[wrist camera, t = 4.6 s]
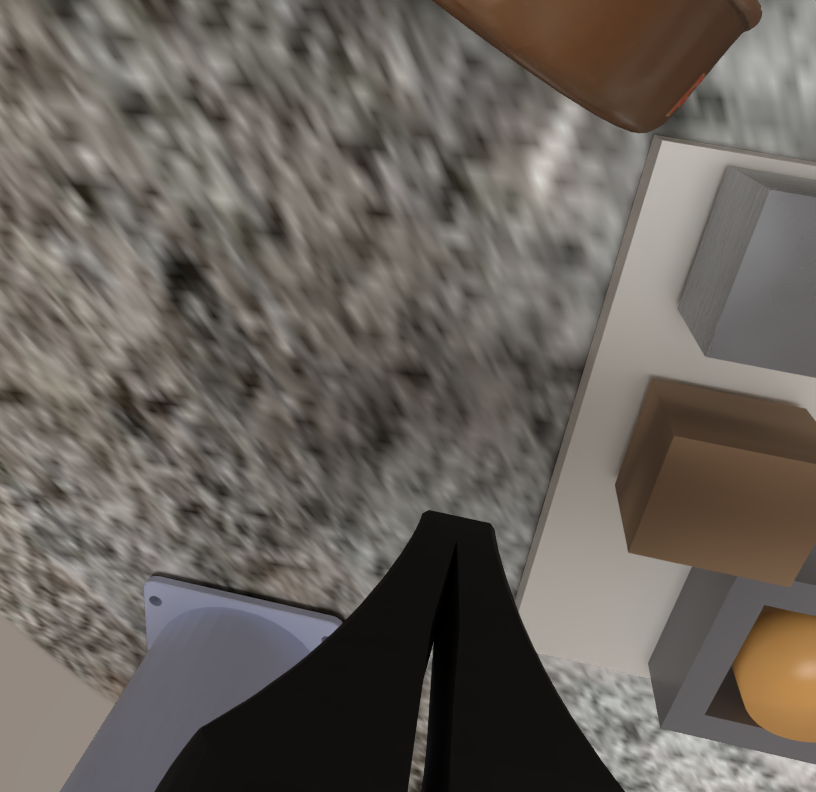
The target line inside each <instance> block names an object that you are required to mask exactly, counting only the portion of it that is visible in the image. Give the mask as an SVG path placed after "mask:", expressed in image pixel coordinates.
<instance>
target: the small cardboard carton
mask: <svg viewBox="0 0 816 792" xmlns="http://www.w3.org/2000/svg"><path fill="white" fill-rule="evenodd" d="M615 488H616V494H617V499H618V504H619V509H620V514H621V519H622V524H623V529H624V534H625V539H626V544H627V549H628V553H632V554H636V555H641V556H646V557H650V558H655V559H660V560H664V561H669V562H674V563H678V564H683V565H688V566H692V567H697V568H701V569H706V570H711V571H715V572H720V573H725V574H729V575H734V576H739V577H743V578H748V579H753V580H757V581H762V582H767V583H771V584H776V585H781V586H785V587H791V586H792V584H793V582H794V580H795V578H796V577H797V575H798V573H799V571H800V569H801V568H802V566H803V564H804V562H805V561H806V559H807V557H808V555H809V553H810V552H811V550H812V548H813V546H814V545H815V543H816V421H815V420H814V418H813V417H812V416H811V414H810V413H809V412H808V411H807V409H805V408H800V407H795V406H790V405H785V404H780V403H774V402H769V401H764V400H759V399H754V398H749V397H744V396H738V395H733V394H728V393H723V392H718V391H713V390H708V389H703V388H697V387H692V386H687V385H682V384H677V383H672V382H667V381H662V380H656V379H652V381H651V384H650V387H649V390H648V393H647V396H646V398H645V401H644V404H643V407H642V410H641V412H640V415H639V418H638V421H637V424H636V426H635V429H634V432H633V435H632V438H631V441H630V443H629V446H628V449H627V452H626V455H625V457H624V460H623V463H622V466H621V469H620V471H619V474H618V477H617V480H616V483H615Z"/></svg>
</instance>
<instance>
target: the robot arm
mask: <svg viewBox="0 0 816 792" xmlns="http://www.w3.org/2000/svg"><path fill="white" fill-rule="evenodd" d="M144 604H145V619H146V634H147V650H148V653H147V654H146V656H145V658H144V659H143V661H142V662H141V664H140V665H139V667H138V669H137V670H136V672H135V673H134V675H133V677H132V678H131V680H130V681H129V683H128V684H127V686H126V688H125V689H124V691H123V692H122V694H121V696H120V697H119V699H118V700H117V702H116V703H115V705H114V707H113V708H112V710H111V712H110V713H109V715H108V716H107V718H106V719H105V721H104V723H103V724H102V726H101V727H100V729H99V730H98V732H97V734H96V735H95V737H94V739H93V740H92V742H91V743H90V745H89V746H88V748H87V749H86V751H85V753H84V754H83V756H82V758H81V759H80V761H79V762H78V764H77V765H76V767H75V769H74V770H73V772H72V773H71V775H70V776H69V778H68V780H67V781H66V783H65V784H64V786H63V787H62V789H61V791H60V792H408V784H409V777H410V769H411V762H412V754H413V747H414V740H415V733H416V726H417V719H418V712H419V705H420V698H421V691H422V685H423V679H424V675H425V671H426V668H427V664H428V661H429V657H430V653H431V650H432V646H433V642H434V646H433V660H432V675H431V689H430V704H429V719H428V734H427V749H426V758H425V768H424V776H423V782H422V789H421V792H625V791H624V790H623V789H622V787H621V786H620V785H619V783H618V782H617V781H616V779H615V778H614V777H613V775H612V774H611V773H610V771H609V770H608V769H607V767H606V766H605V765H604V763H603V762H602V761H601V759H600V758H599V756H598V755H597V753H596V752H595V750H594V749H593V747H592V746H591V744H590V743H589V741H588V740H587V738H586V737H585V736H584V734H583V733H582V731H581V730H580V728H579V727H578V725H577V724H576V722H575V721H574V719H573V718H572V716H571V715H570V713H569V711H568V710H567V708H566V706H565V705H564V703H563V701H562V699H561V698H560V696H559V694H558V693H557V691H556V689H555V687H554V686H553V684H552V682H551V680H550V678H549V676H548V675H547V673H546V671H545V669H544V667H543V665H542V663H541V661H540V659H539V657H538V655H537V653H536V651H535V649H534V647H533V644H532V642H531V640H530V638H529V635H528V633H527V631H526V629H525V626H524V624H523V622H522V619H521V617H520V614H519V612H518V609H517V606H516V604H515V601H514V598H513V595H512V593H511V590H510V587H509V584H508V581H507V578H506V575H505V572H504V569H503V565H502V562H501V558H500V554H499V550H498V546H497V541H496V536H495V529H494V528H493V526H492V525H491V524H490V523H486V522H482V521H477V520H472V519H468V518H463V517H459V516H454V515H449V514H445V513H440V512H435V511H431V510H428V511H426V512H425V513H423V514H422V516H421V519H420V522H419V524H418V526H417V528H416V530H415V532H414V534H413V535H412V537H411V539H410V540H409V542H408V544H407V545H406V547H405V548H404V550H403V551H402V553H401V554H400V556H399V557H398V558H397V560H396V561H395V563H394V564H393V565H392V567H391V568H390V570H389V571H388V572H387V574H386V575H385V576H384V577H383V579H382V580H381V581H380V582H379V584H378V585H377V586H376V587H375V588H374V589H373V591H372V592H371V593H370V594H369V595H368V596H367V598H366V599H365V600H364V601H363V602H362V603H361V605H360V606H359V607H358V608H357V609H356V610H355V611H354V612H353V613H352V614H351V615H350V616H349V617H348V618H347V619H346V620H345V621H344V622H343V623H342V621H341V620H340V619H338V618H337V617H334V616H331V615H327V614H322V613H318V612H314V611H309V610H305V609H300V608H296V607H292V606H287V605H283V604H279V603H274V602H270V601H265V600H261V599H257V598H252V597H248V596H244V595H239V594H235V593H231V592H226V591H222V590H217V589H213V588H209V587H204V586H200V585H196V584H191V583H187V582H182V581H178V580H174V579H169V578H165V577H161V576H152V577H150V578H149V579H148V580H147V582H146V583H145V584H144ZM327 636H329V637H327Z"/></svg>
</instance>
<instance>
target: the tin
mask: <svg viewBox="0 0 816 792" xmlns="http://www.w3.org/2000/svg"><path fill="white" fill-rule="evenodd" d="M432 1H434V2H435V3H436V4H438V5H439V6H440V7H442V8H443V9H444V10H446V11H447V12H448V13H449V14H451V15H452V16H453V17H455V18H456V19H457V20H459V21H460V22H461V23H463V24H464V25H465V26H467V27H468V28H469V29H471V30H472V31H473V32H475V33H476V34H477V35H479V36H480V37H482V38H483V39H484V40H486V41H487V42H488V43H490V44H491V45H493V46H494V47H495V48H497V49H498V50H499V51H501V52H502V53H504V54H505V55H506V56H508V57H509V58H511V59H512V60H513V61H515V62H516V63H518V64H519V65H521V66H522V67H523V68H525V69H526V70H528V71H529V72H531V73H532V74H533V75H535V76H536V77H538V78H539V79H541V80H542V81H544V82H545V83H547V84H548V85H549V86H551V87H552V88H554V89H555V90H557V91H558V92H560V93H561V94H563V95H564V96H566V97H567V98H569V99H571V100H572V101H574V102H575V103H577V104H579V105H580V106H582V107H583V108H585V109H587V110H588V111H590V112H592V113H593V114H595V115H597V116H598V117H600V118H602V119H604V120H606V121H608V122H610V123H611V124H613V125H615V126H618V127H620V128H623V129H625V130H628V131H631V132H635V133H647V132H650V131H652V130H654V129H656V128H658V127H660V126H661V125H663V124H664V123H665V122H666V121H667V120H668V119H669V118H670V117H671V116H672V115H673V114H674V113H675V112H676V111H677V110H678V109H679V108H680V106H681V105H682V104H683V103H684V102H685V100H686V99H687V98H688V97H689V96H690V94H691V93H692V92H693V91H694V90H695V88H696V87H697V86H698V85H699V84H700V82H701V81H702V80H703V79H704V78H705V76H706V75H707V74H708V73H709V72H710V70H711V69H712V68H713V67H714V66H715V64H716V63H717V62H718V61H719V59H720V58H721V57H722V56H723V55H724V53H725V52H726V51H727V50H728V49H729V47H730V46H731V45H732V44H733V43H734V42H735V41H736V40H737V38H738V37H739V36H740V35H741V34H742V33H743V32H745V31H748V30H750V29H752V28H753V27H755V26H756V25H757V24H758V23H759V21H760V19H761V17H762V11H761V5H760V4H759V2H758V0H432Z"/></svg>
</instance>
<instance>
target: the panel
mask: <svg viewBox="0 0 816 792" xmlns="http://www.w3.org/2000/svg"><path fill="white" fill-rule="evenodd" d="M728 165H730V166H736V167H742V168H747V169H753V170H759V171H765V172H771V173H777V174H783V175H789V176H794V177H800V178H806V179H812V180H816V162H814V161H808V160H802V159H796V158H790V157H784V156H778V155H772V154H766V153H760V152H754V151H748V150H743V149H737V148H731V147H725V146H719V145H713V144H707V143H701V142H695V141H689V140H683V139H677V138H671V137H665V136H659V135H654V136H653V139H652V143H651V146H650V149H649V153H648V156H647V159H646V163H645V166H644V170H643V173H642V176H641V180H640V183H639V186H638V190H637V193H636V196H635V200H634V203H633V206H632V210H631V213H630V216H629V220H628V223H627V227H626V230H625V233H624V237H623V240H622V243H621V247H620V250H619V253H618V257H617V260H616V263H615V267H614V270H613V273H612V277H611V280H610V284H609V287H608V290H607V294H606V297H605V300H604V304H603V307H602V310H601V314H600V317H599V320H598V324H597V327H596V330H595V334H594V337H593V341H592V344H591V347H590V351H589V354H588V357H587V361H586V364H585V367H584V371H583V374H582V377H581V381H580V384H579V387H578V391H577V394H576V398H575V401H574V404H573V408H572V411H571V414H570V418H569V421H568V424H567V428H566V431H565V434H564V438H563V441H562V444H561V448H560V451H559V455H558V458H557V461H556V465H555V468H554V471H553V475H552V478H551V481H550V485H549V488H548V491H547V495H546V498H545V501H544V505H543V508H542V512H541V515H540V518H539V522H538V525H537V528H536V532H535V535H534V538H533V542H532V545H531V548H530V552H529V555H528V558H527V562H526V565H525V569H524V572H523V575H522V579H521V582H520V585H519V589H518V592H517V595H516V599H515V604H516V606H517V609H518V612H519V614H520V617H521V619H522V622H523V624H524V626H525V629H526V631H527V633H528V635H529V638H530V640H531V642H532V644H533V647H534V649H535V651H536V653H539V654H543V655H547V656H552V657H556V658H561V659H565V660H569V661H574V662H578V663H583V664H587V665H591V666H596V667H600V668H605V669H609V670H613V671H618V672H622V673H626V674H631V675H635V676H640V677H644V678H648V679H651V682H652V687H653V692H654V697H655V702H656V708H657V713H658V718H659V723H660V728H662V729H666V730H671V731H675V732H679V733H683V734H688V735H692V736H696V737H701V738H705V739H709V740H713V741H718V742H722V743H726V744H731V745H735V746H739V747H744V748H748V749H752V750H756V751H761V752H765V753H769V754H774V755H778V756H782V757H786V758H791V759H795V760H799V761H804V762H808V763H812V764H816V743H812V742H801V741H795V740H790V739H787V738H783V737H780V736H778V735H775V734H773V733H771V732H769V731H767V730H765V729H764V728H762V727H761V726H759V725H758V724H757V723H756V722H755V721H754V720H753V719H752V718H751V717H750V715H749V714H748V712H747V710H746V708H745V705H744V703H743V699H742V696H741V693H740V690H739V687H738V684H737V681H736V678H735V675H734V672H733V669H732V666H731V665H732V663H733V662H734V660H735V658H736V656H737V654H738V652H739V651H740V649H741V647H742V645H743V643H744V641H745V640H746V638H747V636H748V634H749V632H750V630H751V629H752V627H753V625H754V623H755V621H756V619H757V618H758V616H759V614H760V612H761V610H762V608H763V607H764V605H766V606H771V607H775V608H780V609H785V610H789V611H794V612H798V613H803V614H808V615H812V616H816V543H815V545H814V546H813V548H812V550H811V552H810V553H809V555H808V557H807V559H806V561H805V562H804V564H803V566H802V568H801V569H800V571H799V573H798V575H797V577H796V578H795V580H794V582H793V584H792V586H791V587H785V586H781V585H776V584H771V583H767V582H762V581H757V580H753V579H748V578H743V577H739V576H734V575H729V574H725V573H720V572H715V571H711V570H706V569H701V568H697V567H692V566H688V565H683V564H678V563H674V562H669V561H664V560H660V559H655V558H650V557H646V556H641V555H636V554H632V553H628V549H627V544H626V539H625V534H624V529H623V524H622V519H621V514H620V509H619V504H618V499H617V494H616V488H615V483H616V480H617V477H618V474H619V471H620V469H621V466H622V463H623V460H624V457H625V455H626V452H627V449H628V446H629V443H630V441H631V438H632V435H633V432H634V429H635V426H636V424H637V421H638V418H639V415H640V412H641V410H642V407H643V404H644V401H645V398H646V396H647V393H648V390H649V387H650V384H651V381H652V379H656V380H662V381H667V382H672V383H677V384H682V385H687V386H692V387H697V388H703V389H708V390H713V391H718V392H723V393H728V394H733V395H738V396H744V397H749V398H754V399H759V400H764V401H769V402H774V403H780V404H785V405H790V406H795V407H800V408H805V409H807V411H808V412H809V413H810V414H811V416H812V417H813V418H814V420H815V421H816V378H813V377H808V376H803V375H798V374H792V373H787V372H782V371H777V370H771V369H766V368H761V367H756V366H751V365H745V364H740V363H735V362H730V361H724V360H719V359H714V358H709V357H705V356H704V354H703V353H702V351H701V349H700V347H699V346H698V344H697V342H696V340H695V339H694V337H693V335H692V333H691V332H690V330H689V328H688V326H687V325H686V323H685V321H684V319H683V318H682V316H681V314H680V312H679V311H678V309H677V308H678V306H679V303H680V300H681V297H682V294H683V292H684V289H685V286H686V283H687V280H688V277H689V275H690V272H691V269H692V266H693V263H694V261H695V258H696V255H697V252H698V249H699V247H700V244H701V241H702V238H703V235H704V233H705V230H706V227H707V224H708V221H709V218H710V216H711V213H712V210H713V207H714V204H715V202H716V199H717V196H718V193H719V190H720V188H721V185H722V182H723V179H724V176H725V173H726V171H727V168H728Z"/></svg>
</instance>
